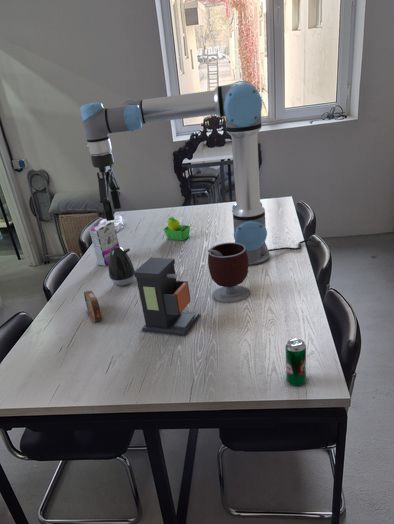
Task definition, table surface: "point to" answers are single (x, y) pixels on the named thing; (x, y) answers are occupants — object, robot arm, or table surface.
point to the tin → (92, 305)
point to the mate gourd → (228, 271)
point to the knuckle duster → (116, 222)
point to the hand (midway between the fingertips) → (114, 214)
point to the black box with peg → (162, 298)
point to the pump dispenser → (120, 266)
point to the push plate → (182, 297)
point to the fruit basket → (176, 230)
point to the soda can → (295, 362)
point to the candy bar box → (104, 241)
